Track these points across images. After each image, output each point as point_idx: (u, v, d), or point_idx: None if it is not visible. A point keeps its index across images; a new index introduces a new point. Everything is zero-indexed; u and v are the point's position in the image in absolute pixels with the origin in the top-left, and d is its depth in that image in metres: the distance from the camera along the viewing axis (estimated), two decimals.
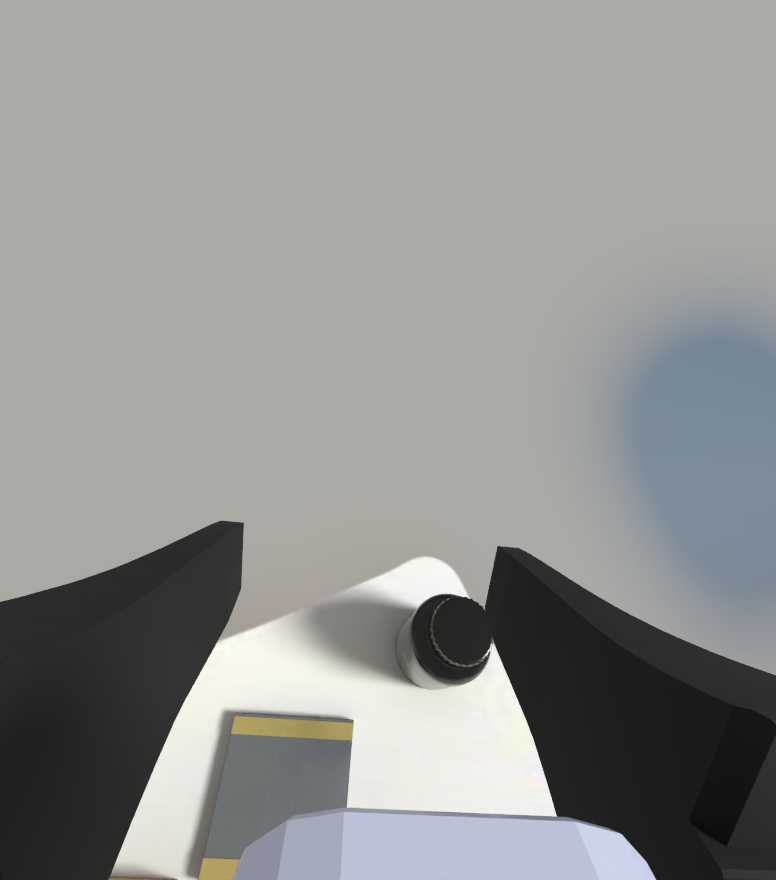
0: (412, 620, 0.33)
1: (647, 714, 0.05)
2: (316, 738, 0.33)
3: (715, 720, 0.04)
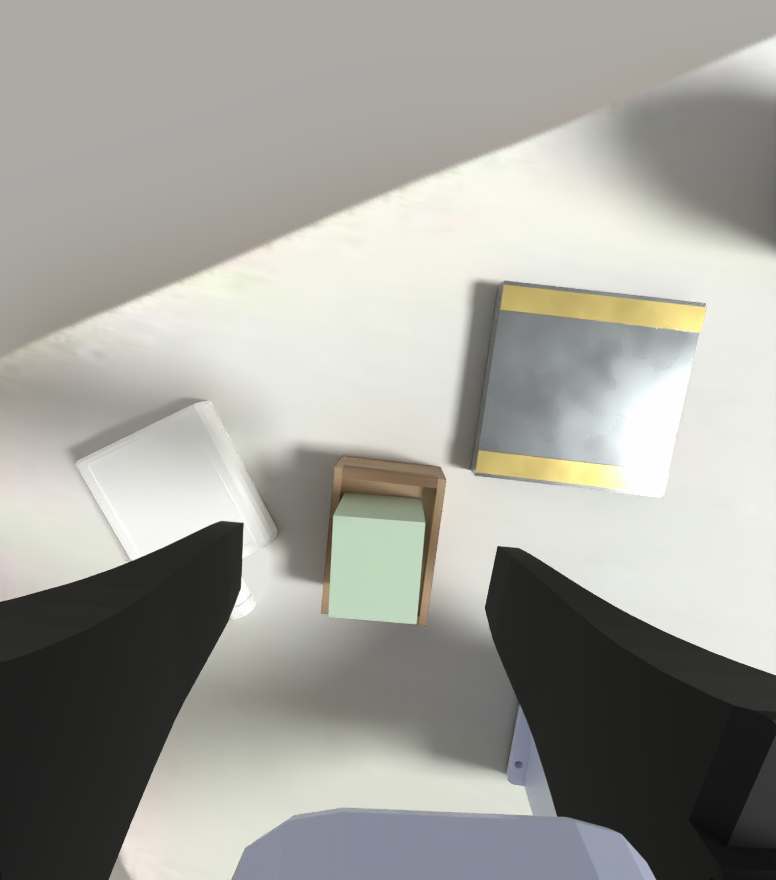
0: None
1: (647, 714, 0.05)
2: (641, 325, 0.20)
3: (715, 720, 0.04)
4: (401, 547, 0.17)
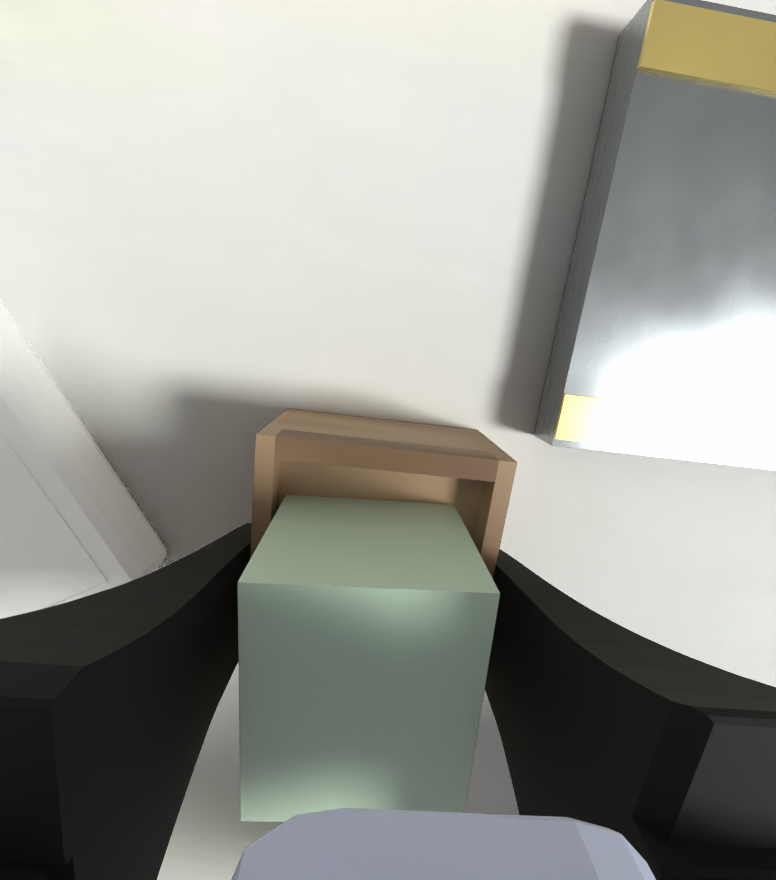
0: None
1: (598, 711, 0.05)
2: None
3: (656, 717, 0.04)
4: (432, 656, 0.06)
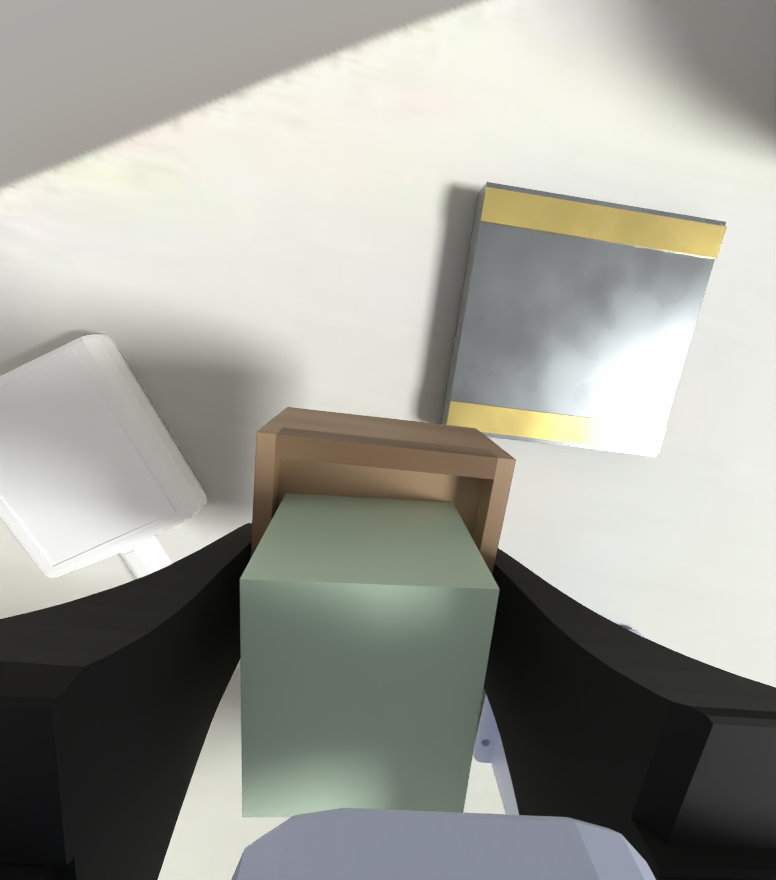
0: None
1: (597, 711, 0.05)
2: (649, 247, 0.16)
3: (656, 717, 0.04)
4: (432, 652, 0.06)
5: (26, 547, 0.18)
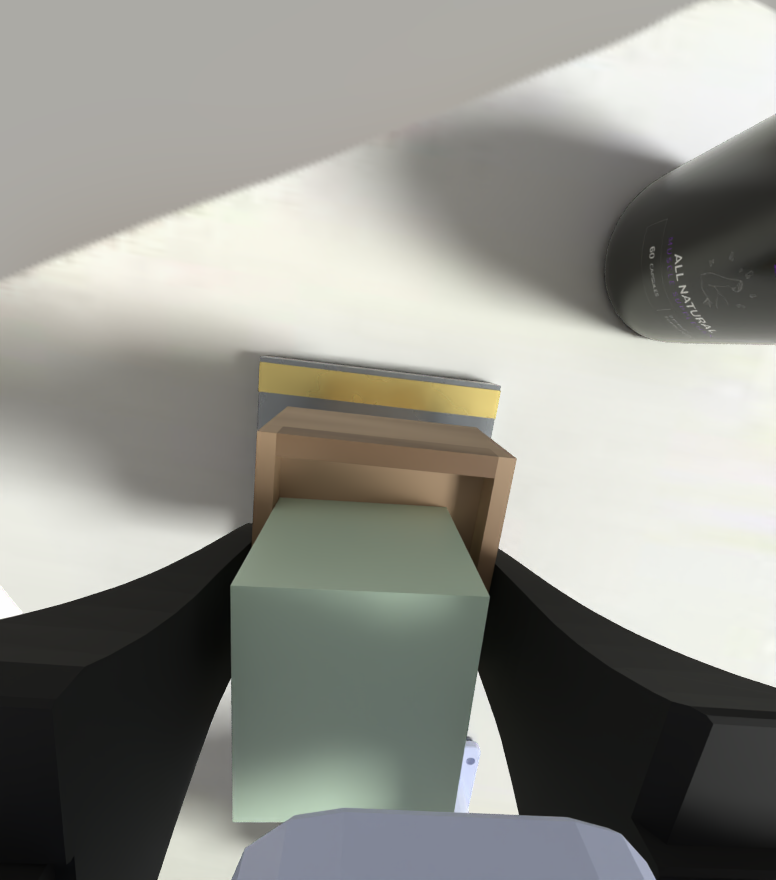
0: None
1: (597, 711, 0.05)
2: (427, 410, 0.17)
3: (655, 717, 0.04)
4: (422, 659, 0.06)
5: None
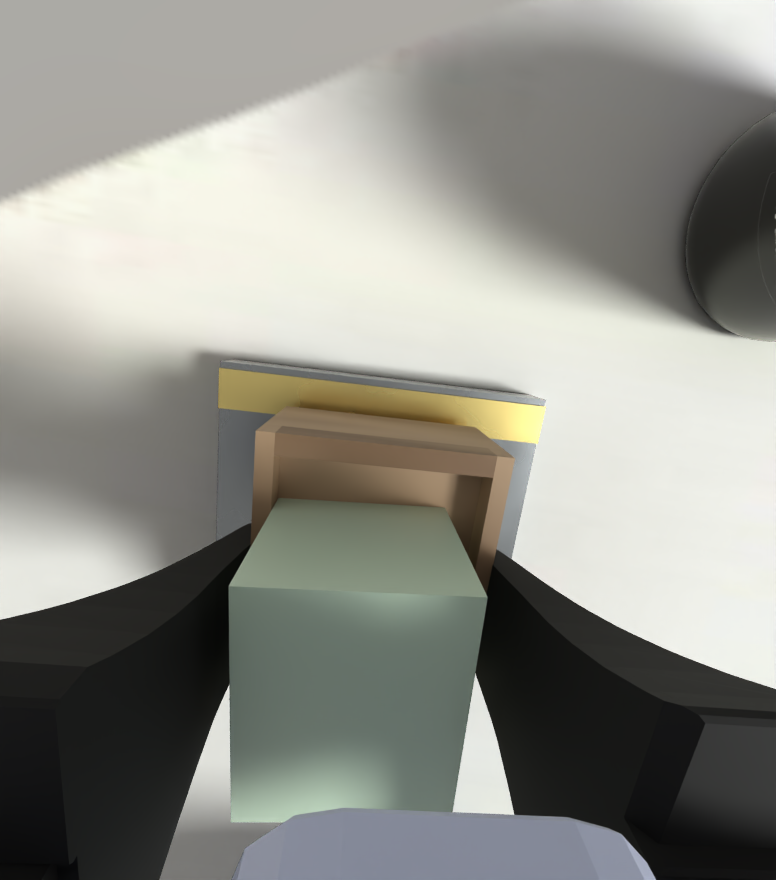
0: None
1: (591, 711, 0.05)
2: None
3: (648, 716, 0.04)
4: (420, 659, 0.06)
5: None
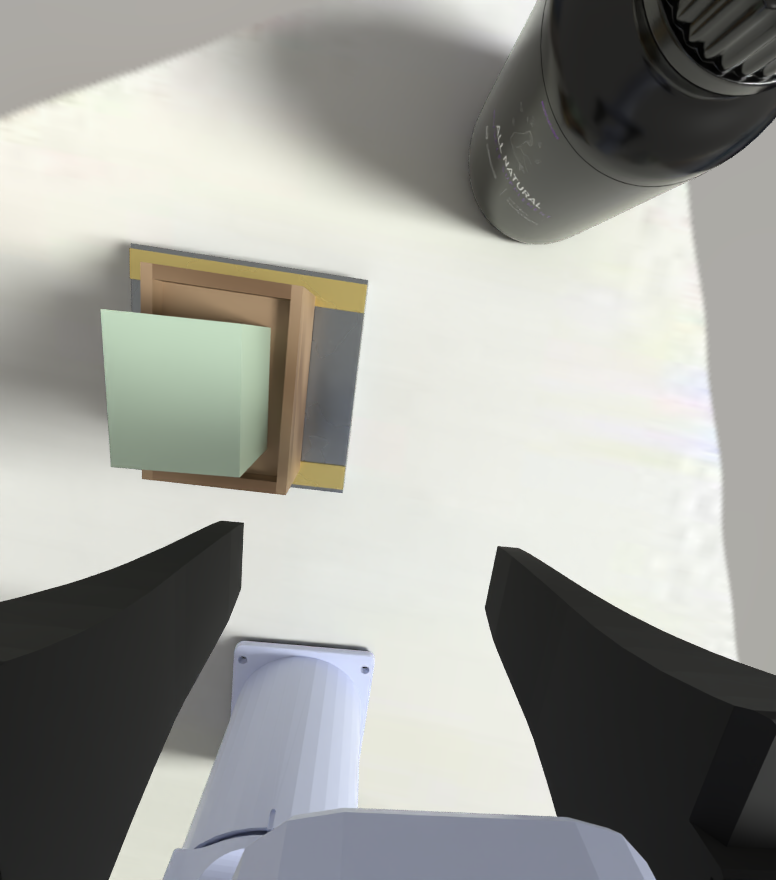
0: None
1: (647, 714, 0.05)
2: None
3: (715, 720, 0.04)
4: (209, 362, 0.12)
5: None
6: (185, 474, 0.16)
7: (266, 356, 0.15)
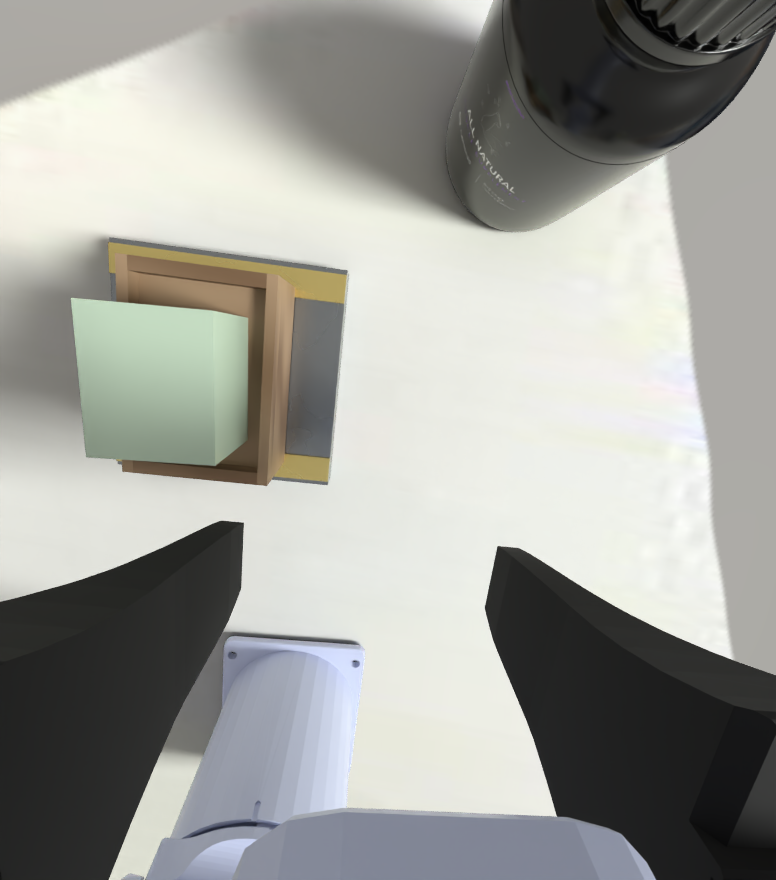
0: None
1: (647, 714, 0.05)
2: None
3: (716, 720, 0.04)
4: (181, 349, 0.12)
5: None
6: (165, 466, 0.16)
7: (243, 346, 0.15)
